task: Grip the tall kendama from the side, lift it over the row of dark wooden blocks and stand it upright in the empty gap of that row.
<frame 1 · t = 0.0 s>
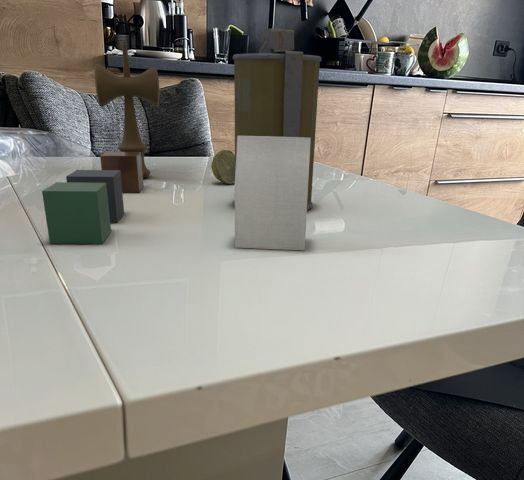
canister: (273, 207, 72), on the table
slate block: (99, 217, 63), on the table
light grey block: (270, 246, 55), on the table
forest green block: (81, 237, 55), on the table
kendama: (135, 178, 91), on the table
walnut block: (124, 189, 80), on the table
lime: (225, 184, 87), on the table
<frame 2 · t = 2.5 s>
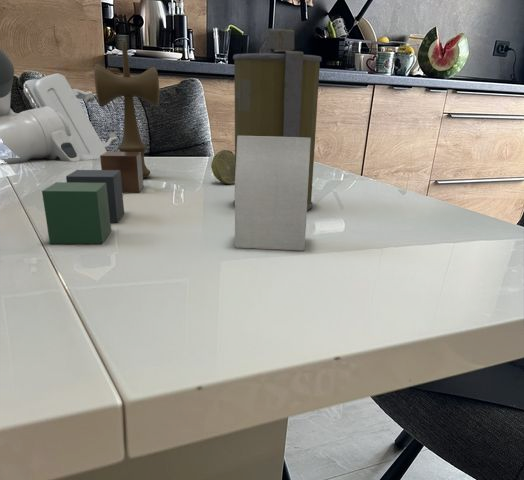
hand: (103, 116, 117), 7 cm above the table, tool horizontal, fingers open, 8 cm apart
nothing on the table moved.
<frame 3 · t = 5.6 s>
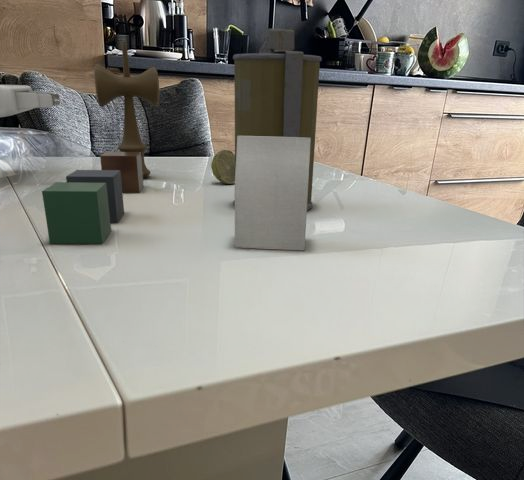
hand: (56, 99, 84), 12 cm above the table, tool horizontal, fingers open, 8 cm apart
nothing on the table moved.
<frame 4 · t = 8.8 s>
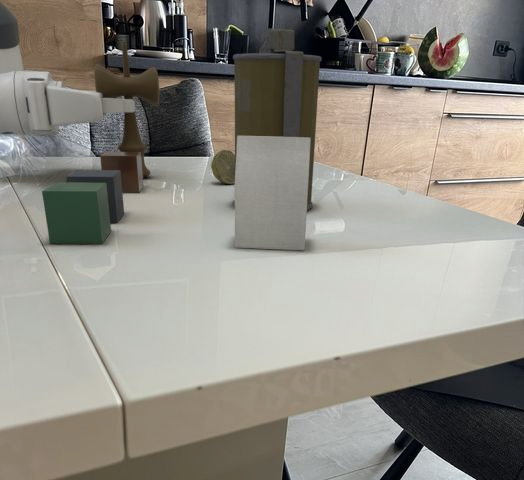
hand: (134, 105, 86), 11 cm above the table, tool horizontal, fingers closed on kendama, 4 cm apart
kendama: (135, 178, 91), on the table, touching gripper
everything else where it was.
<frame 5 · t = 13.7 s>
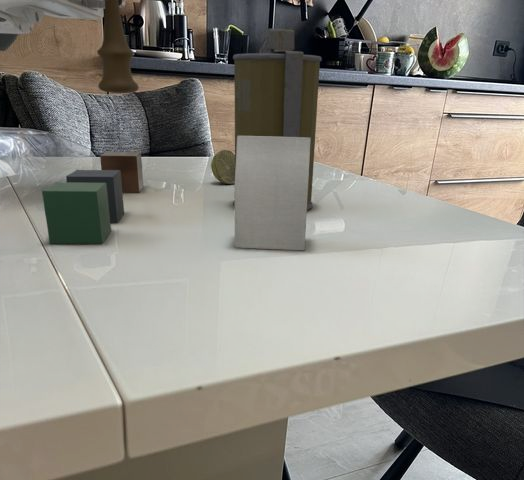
kendama: (119, 94, 72), point 13 cm above the table, touching gripper
everything else where it was.
when the fingers open (11 cm above the table, at t = 18.8 s): kendama stays where it is, on the table.
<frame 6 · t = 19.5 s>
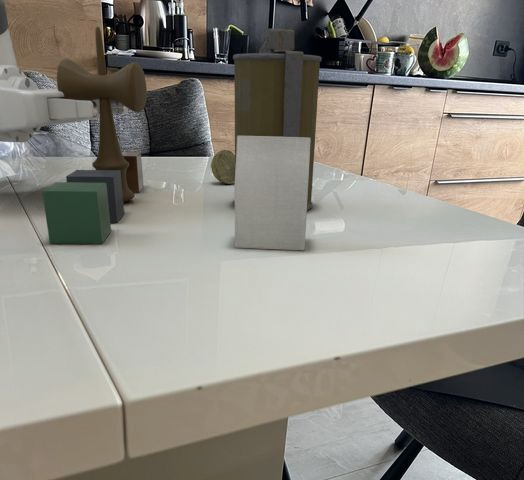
hand: (111, 107, 67), 11 cm above the table, tool horizontal, fingers open, 8 cm apart
kendama: (114, 203, 72), on the table
everything else where it was.
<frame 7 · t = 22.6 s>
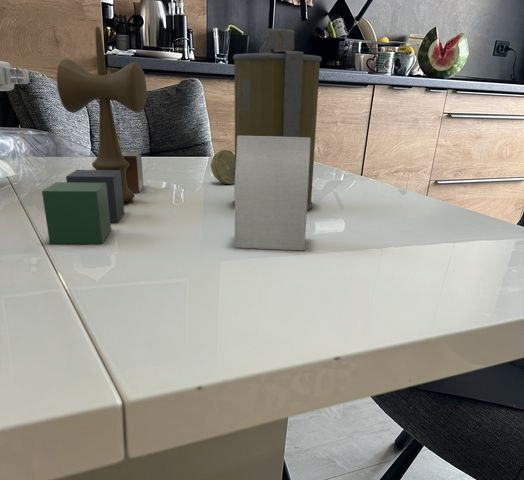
hand: (5, 75, 67), 15 cm above the table, tool horizontal, fingers open, 8 cm apart
nothing on the table moved.
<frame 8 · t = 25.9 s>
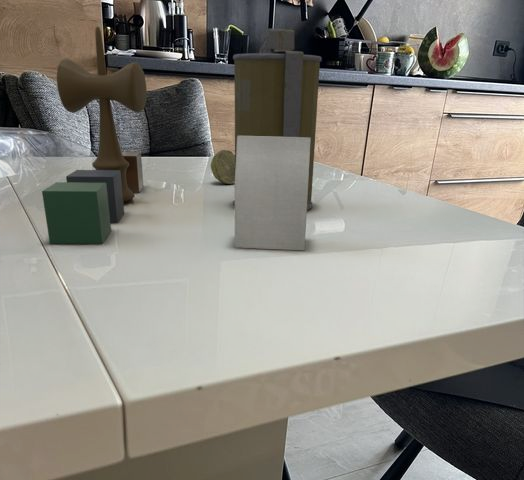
nothing on the table moved.
at the end: kendama 0.3 cm from the target spot on the table beside the slate block, on the table; kendama tilted 0°; walnut block moved 0.0 cm from its start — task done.
